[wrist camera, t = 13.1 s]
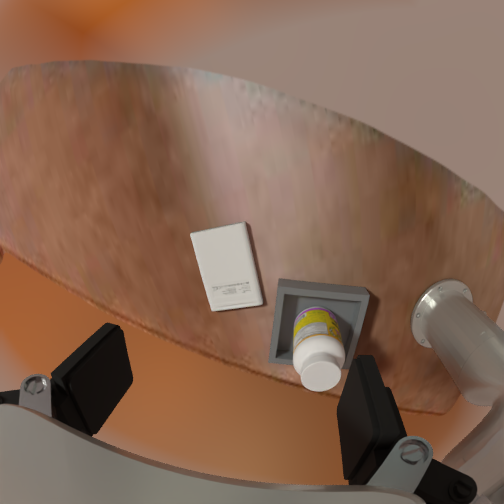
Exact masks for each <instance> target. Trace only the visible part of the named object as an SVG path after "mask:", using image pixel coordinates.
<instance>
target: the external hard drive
mask: <svg viewBox="0 0 504 504" xmlns="http://www.w3.org/2000/svg"><path fill="white" fill-rule="evenodd" d="M190 235H191V239H192V243H193V247H194V250H195V254H196V258H197V261H198V265H199V269H200V272H201V276H202V279H203V283H204V286H205V290H206V293H207V297H208V300H209V303H210V307H211V310H212V311H219V310H227V309H235V308H243V307H250V306H258V305H262V304H263V298H262V293H261V289H260V284H259V280H258V275H257V271H256V266H255V262H254V257H253V253H252V249H251V244H250V240H249V235H248V231H247V227H246V222H240V223H235V224H230V225H225V226H220V227H216V228H211V229H206V230H201V231H197V232H192V233H191V234H190Z"/></svg>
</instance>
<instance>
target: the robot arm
mask: <svg viewBox="0 0 504 504" xmlns="http://www.w3.org/2000/svg"><path fill="white" fill-rule="evenodd" d="M411 330H412V334H413V336H414V338H415V339H416V341H417V342H418V343H419V344H420V345H422V346H424V347H427V348H433V349H434V351H435V352H436V354H437V356H438V357H439V359H440V360H441V362H442V363H443V365H444V366H445V368H446V369H447V371H448V373H449V374H450V376H451V377H452V379H453V381H454V382H455V384H456V385H457V387H458V389H459V390H460V392H461V394H462V395H463V397H464V398H465V399H466V400H467V401H468V402H470V403H472V404H474V405H478V406H492V409H491V410H490V412H489V413H488V414H487V415H486V416H485V417H484V418H483V420H482V421H481V422H480V423H479V424H478V425H477V426H476V427H475V428H474V429H473V430H472V431H471V432H470V433H469V434H468V435H467V436H466V437H465V438H464V439H463V440H462V441H461V442H460V443H459V444H458V445H457V446H455V447H454V448H453V449H452V450H451V451H450V452H449V453H448V454H447V455H446V456H445V458H444V459H443V460H442V462H439V461H437V460H435V459H432V457H433V449H432V447H431V445H430V444H429V442H427V440H425V439H423V438H421V437H418V436H408V437H407V434H406V431H405V428H404V425H403V422H402V419H401V416H400V413H399V410H398V408H397V405H396V402H395V399H394V397H393V394H392V391H391V389H390V388H389V387H385V386H384V383H383V381H382V378H381V375H380V372H379V370H378V367H377V364H376V362H375V359H374V357H373V356H372V355H358V357H357V359H353V360H352V362H351V366H350V369H349V373H348V376H347V379H346V382H345V385H344V388H343V391H342V394H341V397H340V400H339V403H338V406H337V420H338V428H339V435H340V445H341V454H342V462H343V463H342V464H343V474H344V479H345V480H349V485H293V484H276V483H265V482H255V481H247V480H239V479H233V478H227V477H221V476H215V475H210V474H205V473H200V472H196V471H192V470H187V469H183V468H179V467H175V466H172V465H168V464H165V463H161V462H158V461H154V460H151V459H148V458H145V457H142V456H139V455H136V454H133V453H131V452H128V451H125V450H122V449H120V448H117V447H115V446H112V445H110V444H107V443H105V442H102V441H100V440H98V439H96V438H93V437H92V436H93V434H97V433H98V431H99V430H100V428H101V427H102V425H103V424H104V423H105V421H106V420H107V418H108V417H109V415H110V414H111V413H112V411H113V410H114V408H115V407H116V406H117V404H118V403H119V401H120V400H121V399H122V397H123V396H124V394H125V393H126V391H127V390H128V389H129V387H130V386H131V384H132V382H133V375H132V371H131V366H130V362H129V357H128V353H127V348H126V343H125V338H124V333H123V330H121V328H120V326H118V325H115V324H111V323H105V324H104V325H103V326H102V327H101V328H100V329H98V330H97V331H96V332H95V333H94V334H93V335H92V336H91V337H90V338H88V339H87V340H86V341H85V342H84V343H83V344H82V345H81V346H80V347H79V348H77V349H76V350H75V351H74V352H73V353H72V354H71V355H70V356H69V357H68V358H67V359H66V360H64V361H63V362H62V363H61V364H60V365H59V366H58V367H57V368H56V369H55V370H54V371H53V372H52V373H51V376H52V378H51V379H49V378H48V377H47V376H45V375H42V374H34V375H30V376H29V377H27V378H26V379H24V380H23V382H22V384H21V388H20V389H19V390H12V391H5V392H0V504H504V331H503V330H502V329H501V328H500V327H499V326H498V325H497V324H496V323H494V322H493V321H492V320H491V319H490V318H489V317H488V316H487V315H486V312H485V311H481V310H480V309H479V308H478V307H477V306H476V305H474V304H473V298H472V294H471V292H470V290H469V288H468V287H467V286H466V285H465V284H464V283H462V282H461V281H459V280H456V279H445V280H442V281H439V282H437V283H436V284H434V285H432V286H431V287H430V288H428V289H427V290H426V291H425V292H424V293H423V295H422V296H421V297H420V299H419V300H418V302H417V303H416V305H415V307H414V310H413V313H412V317H411Z"/></svg>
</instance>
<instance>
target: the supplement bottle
mask: <svg viewBox="0 0 504 504" xmlns="http://www.w3.org/2000/svg"><path fill="white" fill-rule="evenodd" d="M344 362H345V351H344V347H343V342H342V338H341V334H340V330H339V327H338V323H337V320H336V317H335V315H334V314H333V313H332V312H331V311H330V310H328V309H326V308H324V307H319V306H315V307H310V308H307V309H305V310H303V311H302V312H301V313H300V314H299V315H298V316H297V318H296V320H295V322H294V339H293V365H294V368H295V370H296V371H297V372H298V374H299V375H301V382H302V384H303V385H304V386H305V387H306V388H307V389H309V390H312V391H325V390H328V389H331V388H332V387H334V386H335V385H336V384H337V383H338V382H339V380H340V378H341V368H342V367H343V365H344Z"/></svg>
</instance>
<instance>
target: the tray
mask: <svg viewBox="0 0 504 504" xmlns="http://www.w3.org/2000/svg"><path fill="white" fill-rule="evenodd" d="M369 297H370V295H369V293H368V291H367V290H366V288H365V287H356V286H345V285H335V284H325V283H316V282H306V281H297V280H288V279H279V282H278V289H277V297H276V306H275V314H274V322H273V330H272V338H271V346H270V353H269V361H268V362H269V363H278V364H287V365H293V339H294V322H295V320H296V318H297V316H298V315H299V314H300V313H301V312H302V311H303V310H305V309H307V308H310V307H315V306H319V307H324V308H326V309H328V310H330V311H331V312H332V313H333V314H334V315H335V317H336V320H337V323H338V327H339V330H340V334H341V338H342V342H343V347H344V351H345V362H344V365H343V367H342V368H341V369H350V365H351V362H352V359H353V356H354V353H355V349H356V346H357V343H358V339H359V336H360V332H361V328H362V325H363V321H364V317H365V313H366V309H367V305H368V301H369Z"/></svg>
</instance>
